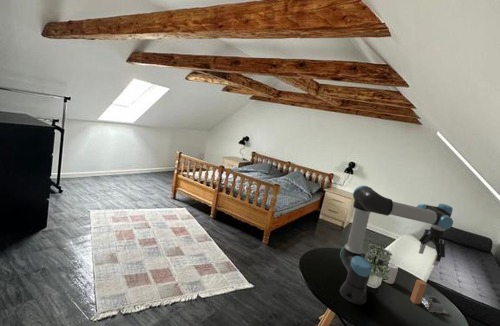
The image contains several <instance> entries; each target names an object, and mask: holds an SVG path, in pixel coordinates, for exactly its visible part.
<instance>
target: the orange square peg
mask: <svg viewBox="0 0 500 326" xmlns="http://www.w3.org/2000/svg"><path fill="white" fill-rule="evenodd" d="M427 285H428V284H427V283H426V282H425V281H424V280H422V279H416V281H415V284H414V287H413V290H412V293H411V296H410V301H411V302H412V303H413V304H414V305H421V304H422V303H421V300H422V298H423V297H424V295H425V291H426V288H427Z"/></svg>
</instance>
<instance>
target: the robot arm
mask: <svg viewBox="0 0 500 326" xmlns="http://www.w3.org/2000/svg"><path fill="white" fill-rule="evenodd" d="M352 196H353V199H354V201H353V207H352V208H354V214H353V218H352V221H351V228H350V231H349V236H348V241H347V243H346V244H345V245H344V247H343V248H341V249H340V253H339V258H340V260H341V262H342V264H343V266H344V267H345V269H346V271H347V276H346V279H345V281H344V282H342V283H343V284H342V285H341V286H340V289H339V293H340V295H341V297H342V298H343V299H344V300H346V301H348V302H349V303H351V304H354V305H364V304H365V303H366V301H367V287H368V283H369V280H370V278H371V277H370V276H371V274H372V269H373V266H372V264H371V262H370V261H369V260H368V259H366V258H365V257H363V256H364V248H363V244H364V240H365V236H366V232H367V226H368V222H369V218H370V214H371V213H374V214H377V215H381V216H385V217H386V216H390V215H391V216H395V217H399V218H405V219H408V220H412V221H417V222H421V223H424V224H425V223H426V224H429V225H431V226H430V229H429V230H426V231H425V233H424V234H423V235H422V236H421V238H420V239H419V242H420V245H419V250H418V252H417V253H418V254H422V255H423V254H424V251H425V250H426V246H427V244H428V243H429V242H432V243H433V244H434V246H435V251H436V255H435V256H434V259H433V262H432V265H433V266H435V267H437V266H438V265H439V263H440V262H441V259H442V258H446V249H445V248H446V247H445V246H446V240H444V239H442V238H443V237H444V235H445V233H446V230H449V229H451V228H452V227H453V224H454V220H453V218H451V217H452V213H453V207H452V206H450V205H448V204H445V203H438V205H437V206H435V205H429V204H423V203H422V204H421V203H419V204H418V205H416V206H414V205H409V204H405V203H400V202H398V201H397V202H396V201H393V199H391V198H387V197H384V196H383V195H381V194H380V193H378V192H376V190H374V189H373V188H372V187H369V186H367V185H360V186H359V185H358V186H357V187H356V188H355V189H354V191H353V193H352Z"/></svg>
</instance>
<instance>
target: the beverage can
mask: <svg viewBox="0 0 500 326" xmlns="http://www.w3.org/2000/svg"><path fill="white" fill-rule="evenodd" d="M388 267H389V269H390V271H389V274H390V278H389V279H388V280H382V281H383V282H385V283H387V284H391V285H392V284H395V280H396V277H397V275H398V272H399V271H398V270H399V267H398V266H397V265H396V264H395V263H393V262H389V264H388Z"/></svg>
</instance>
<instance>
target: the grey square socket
mask: <svg viewBox="0 0 500 326" xmlns="http://www.w3.org/2000/svg"><path fill="white" fill-rule="evenodd" d="M420 304H422V305H423V307H424V308H425V309H426V310H427V311H428V312H429V313H434V312H436V313H435V314H441V313H444V314H443V315H449V312H448V311H447V310H446V309H445V304H444V303H443V301H441V300H440V299H439V298H438V297H437V296H435V295H427V294H423V297H422V300H421V303H420Z"/></svg>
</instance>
